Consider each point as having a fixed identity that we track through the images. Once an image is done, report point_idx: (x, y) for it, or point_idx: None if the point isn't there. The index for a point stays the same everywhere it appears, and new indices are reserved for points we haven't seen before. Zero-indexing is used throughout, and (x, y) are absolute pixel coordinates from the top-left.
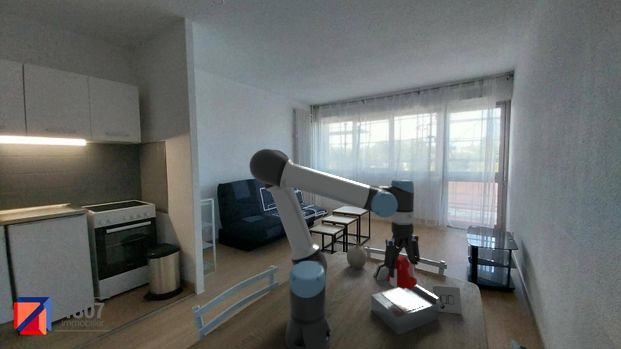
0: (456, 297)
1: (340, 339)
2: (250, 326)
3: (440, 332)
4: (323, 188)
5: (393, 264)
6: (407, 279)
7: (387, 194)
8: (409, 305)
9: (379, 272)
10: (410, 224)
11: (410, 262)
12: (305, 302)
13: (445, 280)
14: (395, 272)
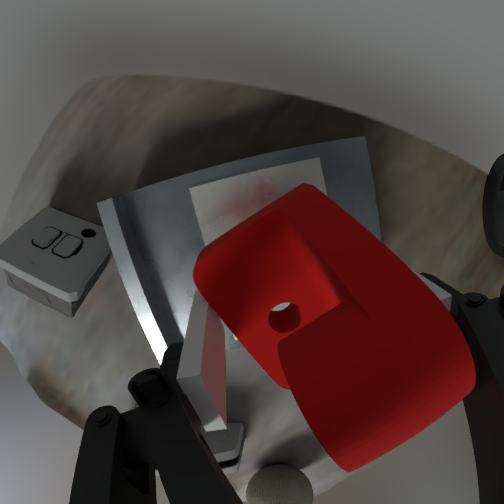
0: (24, 235)
1: (472, 178)
2: None
3: (173, 124)
4: None
5: (500, 318)
6: (341, 211)
7: None
8: (268, 196)
9: (240, 443)
10: None
11: (198, 419)
12: None
13: (28, 370)
14: (433, 284)
